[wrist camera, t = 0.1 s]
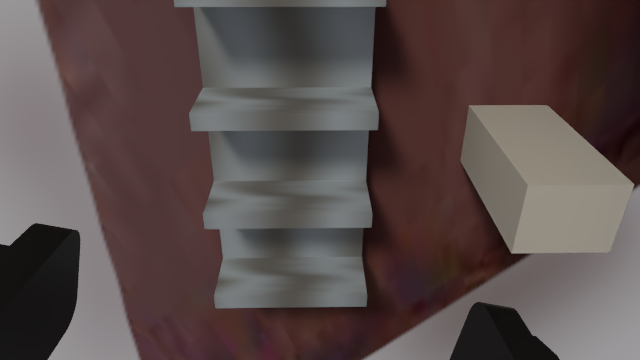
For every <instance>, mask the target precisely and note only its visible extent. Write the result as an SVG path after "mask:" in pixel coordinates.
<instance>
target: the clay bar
mask: <svg viewBox="0 0 640 360" xmlns="http://www.w3.org/2000/svg"><path fill="white" fill-rule="evenodd" d="M461 163H462V165H463V167H464V169H465V170H466V172H467V174H468V176H469V178H470V179H471V181H472V183H473V185H474V187H475V188H476V190H477V192H478V194H479V196H480V197H481V199H482V201H483V203H484V205H485V206H486V208H487V210H488V212H489V214H490V215H491V217H492V219H493V221H494V223H495V224H496V226H497V228H498V230H499V232H500V233H501V235H502V237H503V239H504V241H505V243H506V244H507V246H508V248H509V250H510V252H511V253H605V252H606V253H609V252H610V250H611V248H612V245H613V242H614V239H615V237H616V233H617V231H618V228H619V225H620V223H621V220H622V217H623V214H624V212H625V209H626V206H627V203H628V201H629V198H630V195H631V192H632V190H633V187H634V184H633V183H632V182H631V181H630V180H629V179H628V178H627V177H626V176H625V175H623V174H622V173H621V172H620V171H619V170H618V169H617V168H616V167H615V166H614V165H612V164H611V163H610V162H609V161H608V160H607V159H606V158H605V157H604V156H603V155H601V154H600V153H599V152H598V151H597V150H596V149H595V148H594V147H593V146H592V145H590V144H589V143H588V142H587V141H586V140H585V139H584V138H583V137H582V136H581V135H579V134H578V133H577V132H576V131H575V130H574V129H573V128H572V127H571V126H570V125H568V124H567V123H566V122H565V121H564V120H563V119H562V118H561V117H560V116H559V115H557V114H556V113H555V112H554V111H553V110H552V109H551V108H550V107H549V106H548V105H479V106H469V110H468V117H467V123H466V129H465V135H464V142H463V148H462V154H461Z"/></svg>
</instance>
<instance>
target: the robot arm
mask: <svg viewBox="0 0 640 360" xmlns="http://www.w3.org/2000/svg"><path fill="white" fill-rule="evenodd" d="M79 256H80V234H79V232H78V231H77V230H72V229H66V228H61V227H54V226H49V225H44V224H38V223H36V224H33V225H32V226H30V227H29V228H28V229H27V230H26V231H25V232H24V233H23V234H22V235H21V236H20V237H19V238H18V239H16V240H15V241H14V242H13V243H12V244H11V245H10V246H7V245H1V244H0V360H47V359H48V358H49V356H50V355H51V353H52V352H53V350H54V349H55V347H56V346H57V344H58V343H59V341H60V340H61V338H62V337H63V335H64V333H65V332H66V330H67V329H68V327H69V324H70V322H71V320H72V317H73V314H74V311H75V306H76V301H77V289H78V272H79ZM450 360H560V359H559V358H558V356H557V355H556V354H555V353H554V352H553V351H551V350H550V349H549V348H548V347H547V346H546V345H545V344H544V343H543V342H542V341H540V340H539V339H538V338H537V337H536V336H532V334H531V333H530V331H529V330H528V328H527V326H526V325H525V323H524V322H523V320H522V319H521V317H520V315H519V314H518V313H517V311H516V310H515V309H513V308H510V307H504V306H499V305H493V304H487V303H481V302H477V303H475V304H474V305H473V306H472V308H471V309H470V311H469V314H468V316H467V319H466V321H465V323H464V326H463V328H462V331H461V333H460V336H459V338H458V341H457V343H456V345H455V348H454V350H453V353H452V355H451V358H450Z"/></svg>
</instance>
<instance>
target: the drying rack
mask: <svg viewBox="0 0 640 360" xmlns="http://www.w3.org/2000/svg"><path fill="white" fill-rule="evenodd" d="M174 7H194V15H195V24H196V32H197V41H198V49H199V58H200V66H201V75H202V83H203V89H202V91H201V93H200V94H199V96H198V98H197V100H196V102H195V104H194V105H193V107H192V109H191V111H190V113H189V117H190V124H191V131H208V134H209V142H210V151H211V159H212V168H213V176H214V183H213V186H212V189H211V192H210V195H209V198H208V201H207V204H206V207H205V210H204V213H203V220H204V227H205V229H220V235H221V244H222V252H223V261H222V265H221V269H220V274H219V278H218V282H217V286H216V291H215V295H214V300H215V308H281V307H367V290H366V283H365V276H364V269H363V262H362V244H363V228H372V209H371V203H370V198H369V193H368V188H367V183H366V171H367V153H368V135H369V130H378V121H379V111H378V108H377V105H376V101H375V98H374V95H373V92H372V88H371V80H372V62H373V44H374V25H375V7H386V0H174Z"/></svg>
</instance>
